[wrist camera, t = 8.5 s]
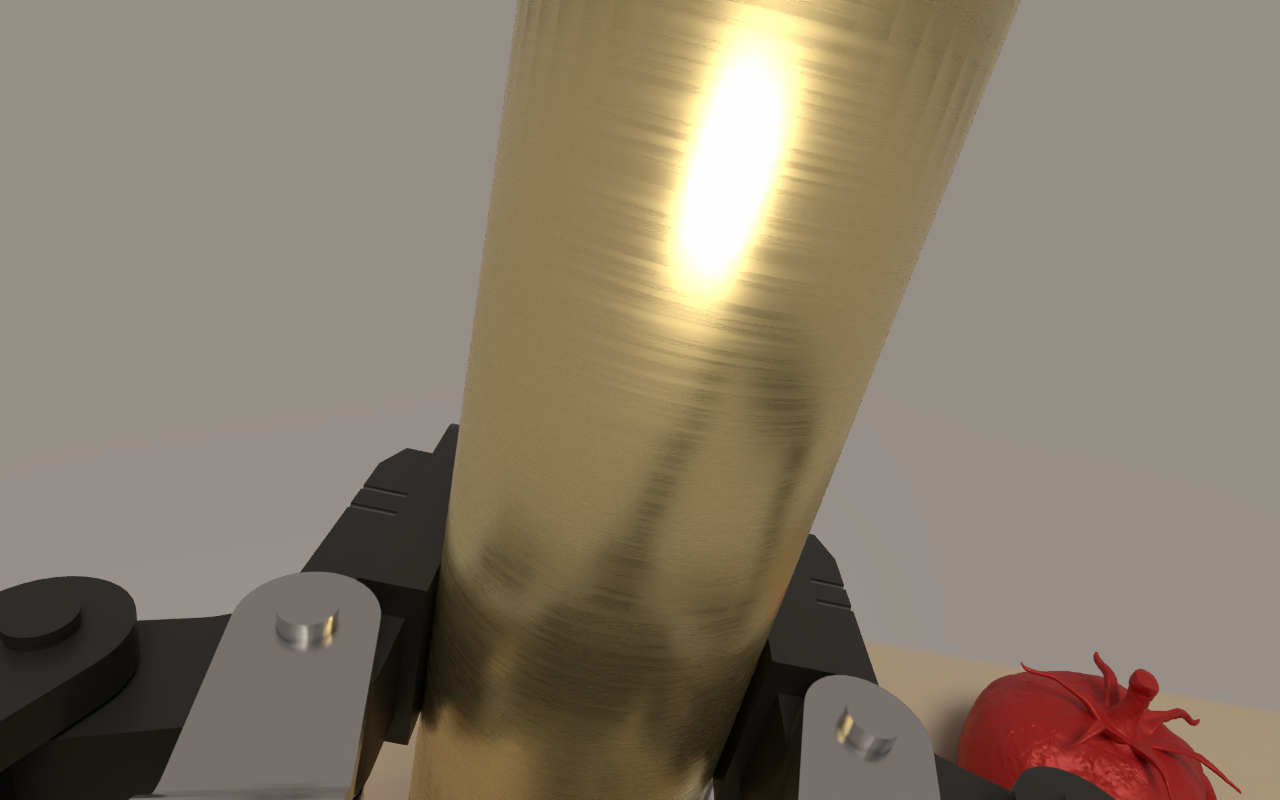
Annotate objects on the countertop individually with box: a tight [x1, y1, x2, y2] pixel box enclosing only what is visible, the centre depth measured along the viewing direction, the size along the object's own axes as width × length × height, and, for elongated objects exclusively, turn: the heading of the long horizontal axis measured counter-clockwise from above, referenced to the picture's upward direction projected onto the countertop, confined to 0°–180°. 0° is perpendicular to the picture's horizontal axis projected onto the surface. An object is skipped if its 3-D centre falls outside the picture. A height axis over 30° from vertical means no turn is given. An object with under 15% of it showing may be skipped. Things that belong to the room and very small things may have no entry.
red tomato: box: [957, 652, 1241, 800], centre depth 29 cm, size 10×10×9 cm
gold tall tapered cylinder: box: [409, 0, 1021, 800], centre depth 9 cm, size 5×5×17 cm
